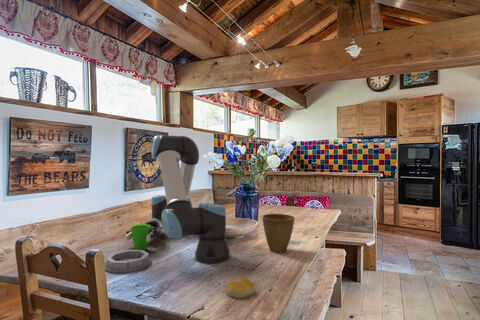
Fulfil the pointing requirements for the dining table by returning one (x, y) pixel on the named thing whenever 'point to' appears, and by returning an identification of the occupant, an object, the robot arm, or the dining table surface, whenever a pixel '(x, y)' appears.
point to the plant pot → (278, 231)
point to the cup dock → (127, 261)
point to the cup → (140, 236)
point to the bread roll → (240, 288)
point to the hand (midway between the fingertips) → (136, 238)
